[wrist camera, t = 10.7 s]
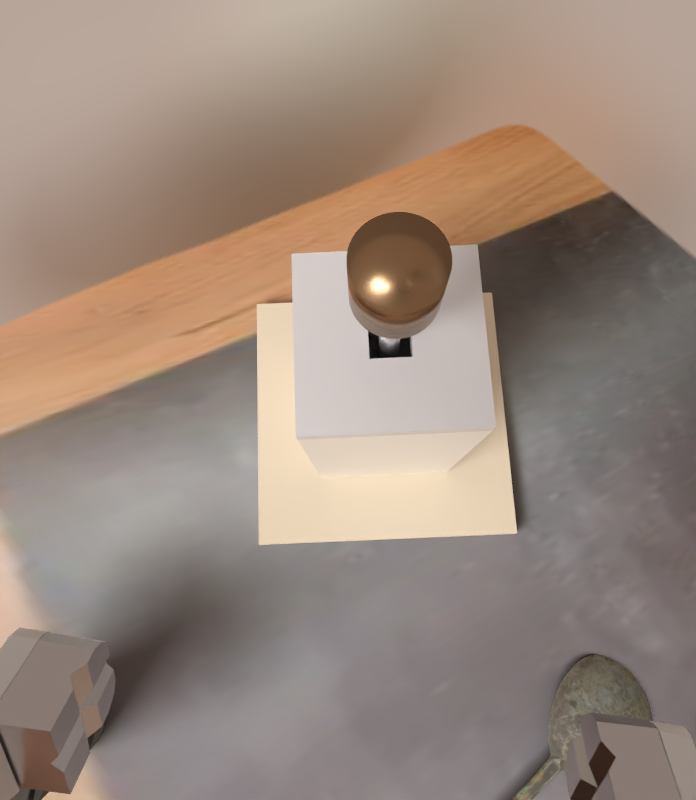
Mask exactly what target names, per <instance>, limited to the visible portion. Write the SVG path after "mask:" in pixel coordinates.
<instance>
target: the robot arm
mask: <svg viewBox="0 0 696 800" xmlns="http://www.w3.org/2000/svg"><path fill="white" fill-rule="evenodd" d="M110 654H111V653H110V649H109V646H108V642H107V641H101V640H95V639H88V638H81V637H75V636H68V635H62V634H55V633H51V632H46V631H39V630H31V629H24V628H19V629H17V630H16V631H15V632H14V633H13V634H12V635H10V636H9V637H8V639H7V640H6V642H5V643H4V644H3V646H2V647H1V649H0V800H10V799H11V798H13V797H14V796H15V795H16V794H17V793H18V792H19V788H27V789H35V790H42V791H50V792H58V793H65V794H71V792H72V790H73V788H74V785H75V783H76V781H77V779H78V777H79V775H80V773H81V771H82V768H83V766H84V764H85V762H86V760H87V758H88V756H89V754H90V751H89V745H88V740H87V738H88V737H89V736H90V735H92V734H93V733H94V732H96V731H97V730H98V729H99V728H101V727H102V726H103V723H104V721H105V719H106V717H107V715H108V712H109V710H110V707H111V703H112V700H113V696H114V692H115V673H114V669H113V668H112V667H110V666H109V665H108V664H107V663H106V662H107V660H108V658H109V656H110ZM580 726H581V731H582V734H581V735H579V736H577V737H575V738H573V739H572V741H571V744H570V746H569V749H568V752H567V762H566V775H567V785H568V791H569V797H570V800H696V748H695V745H694V743H693V740H692V737H691V735H690V733H689V732H688V731H687V730H686V728H685V727H683V726H680V725H677V724H669V723H662V722H654V721H649V720H646V719H638V718H630V717H622V716H614V715H607V714H599V713H591V712H589V713H587V714H585V715H584V717H583V719H582V720H581V722H580Z"/></svg>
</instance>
